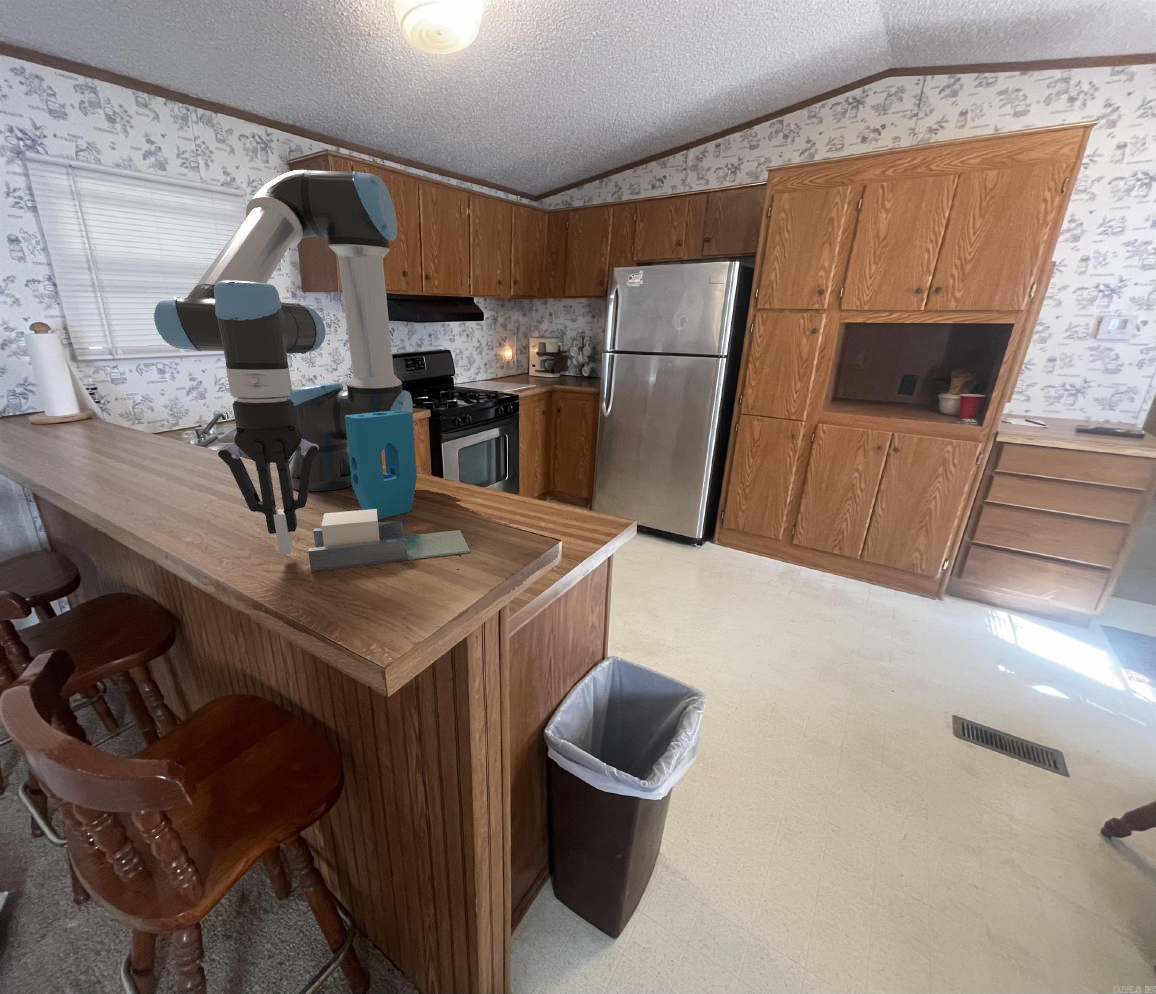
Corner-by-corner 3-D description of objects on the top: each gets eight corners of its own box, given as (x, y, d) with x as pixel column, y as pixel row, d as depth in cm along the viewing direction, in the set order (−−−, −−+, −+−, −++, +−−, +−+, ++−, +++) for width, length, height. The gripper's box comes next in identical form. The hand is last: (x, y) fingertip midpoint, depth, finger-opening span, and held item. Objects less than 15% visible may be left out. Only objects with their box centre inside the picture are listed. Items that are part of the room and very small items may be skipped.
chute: (316, 547, 86) (313, 528, 85) (460, 532, 94) (459, 514, 93) (311, 571, 77) (308, 551, 76) (469, 552, 86) (469, 533, 85)
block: (366, 522, 97) (356, 418, 91) (353, 516, 100) (342, 415, 94) (420, 508, 106) (414, 412, 100) (407, 503, 109) (400, 409, 103)
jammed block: (328, 547, 84) (324, 513, 83) (379, 541, 87) (376, 508, 86) (326, 561, 79) (321, 525, 77) (380, 555, 82) (377, 520, 80)
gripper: (200, 403, 67) (231, 566, 74) (311, 401, 71) (330, 555, 78) (215, 396, 73) (242, 546, 80) (316, 395, 78) (333, 537, 85)
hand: (286, 550), depth 79 cm, fingers closed
